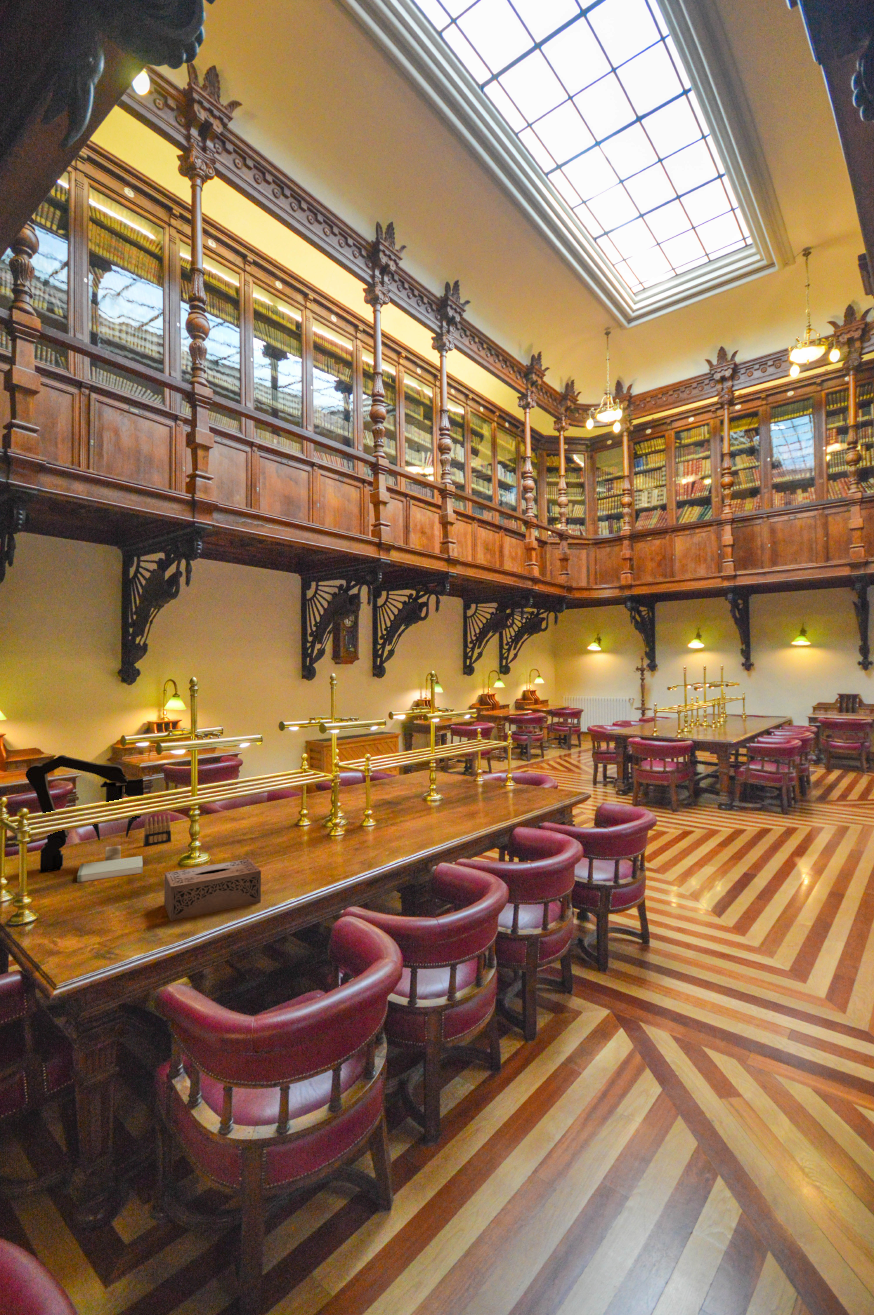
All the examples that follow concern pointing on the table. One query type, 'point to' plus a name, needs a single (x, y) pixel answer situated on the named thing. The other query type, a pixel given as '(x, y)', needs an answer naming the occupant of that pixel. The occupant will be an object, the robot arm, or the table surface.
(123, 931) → the table surface
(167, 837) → the ammunition clip
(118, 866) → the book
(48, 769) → the robot arm
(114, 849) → the maple block
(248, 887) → the tissue box cover
